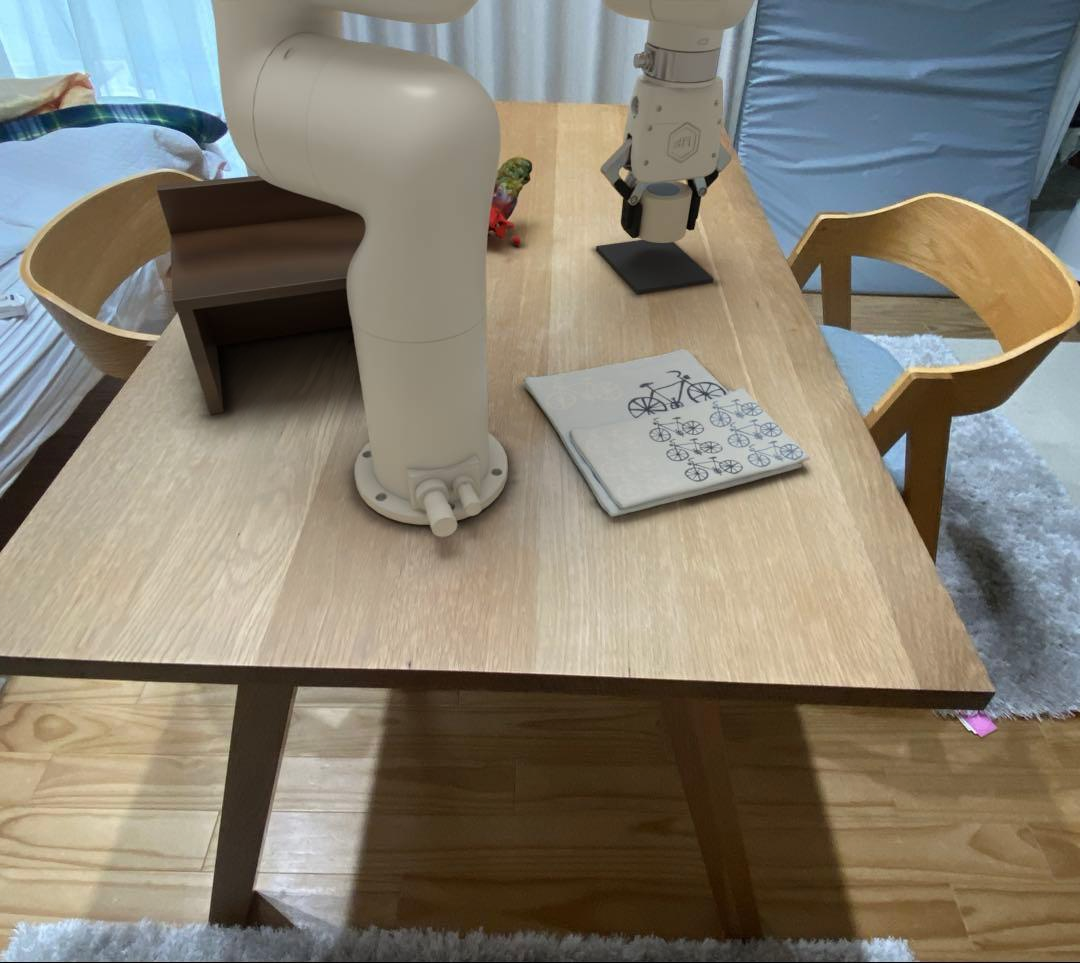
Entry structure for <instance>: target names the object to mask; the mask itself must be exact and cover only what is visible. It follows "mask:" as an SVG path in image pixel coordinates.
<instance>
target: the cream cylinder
mask: <svg viewBox="0 0 1080 963" xmlns="http://www.w3.org/2000/svg"><path fill="white" fill-rule="evenodd" d="M691 197H692V190H691V188H690V187H689V186H688V185H687V184H686V183H684V182H682V181H672V182H663V183H653V184H647V186H646V188H645V190H644V192H643V194H642V196H641V198H640V199H639V203H640V204H641V205H642V216H641V224H640V232H639V236H638V240H645V241H649V242H655V243H670V242H674V243H675V242H678V241H680V240H682V239H683V238H685V236H686V232H687V229H686V227H687V221H688V215H689V209H690V203H691Z"/></svg>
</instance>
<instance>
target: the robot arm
mask: <svg viewBox="0 0 1080 963" xmlns="http://www.w3.org/2000/svg"><path fill="white" fill-rule="evenodd" d="M601 1H602V3H604V4H605V6H606V7H607V8H608V9H609V10H611V11H612V12H613V13H615V14H618V15H620V16H624V17H627V18H632V19H637V20H643V21H648V24H647V25H648V26H647V34H646V42H644V47H643V48H644V49H643V51H642V52H640V53H639V52H638V53H635V54H634V55H633V62H632V63H633V67H634V68H635V69H641V71H642V74H639V75H637V77H636V81H635V84H634V87H633V91H632V93H631V98H630V102H629V106H628V111H627V115H626V119H625V120H626V121H625V126H624V131H623V132H624V133H623V140H622V145H621V146H619V147H618V149H617V150H615V151H614V153H613V154H611V156H609V158H608V159H607V160H606V161H605V162H604V163H603V164H602V165H601V166H600V169H599V171H600V174H602V176H603V177H604V178H605V179H606V180H607V182H609V184H610V185H611V186H612V188H613V189H614V190H615V191H616V192H617V193H618V195H620V197H622V204H621V214H620V225H621V228H622V230H623V231H625V233H626V234H627V235H628V236H629V237H630V238H631V239H637V238H638V236H639V232H640V224H641V216H642V205H641V204H640V203H639V199H640V198H641V196H642V194H643V192H644V190H645V188H646V186H647V184H653V183H663V182H672V181H679V182H681V181H685V184H686V185H688V186H689V187H690V188H691V190H692V197H691V203H690V209H689V215H688V221H687V227H686V230H688V231H695V229H696V224H697V223H696V222H697V220H698V218H699V213H700V207H701V203H702V202H701V201H702V197H704V196H706V194H707V193H708V188H709V187H710V186H711V185H712V184H713V183H714V182H715V181H716V180H717V179H718V178H719V174H720V173H722V172H723V171H724V170H725V168H726V167H727V166H728V165H729V164H730V162H732V156H731V154H730V152H728V151H727V149H726V148H725V146H724V145H722V143H721V140H722V132H723V118H724V117H723V116H724V82H723V78H722V77H720V76H719V75H717V74H718V73H717V72H718V67H719V62H720V55H721V49H722V44H723V36H724V32H725V30H728V29H732V28H734V27H735V26H737V25H739V24H740V23H742V22H743V20H745V18H747V16H748V15H749V13H750V11H751V10H752V8H753V6H754V3H755V1H756V0H601ZM477 3H478V0H212V5H213V17H214V28H215V29H214V30H215V40H216V51H217V62H218V63H217V64H218V76H219V85H220V94H221V102H222V108H223V113H224V118H225V122H226V125H227V130H228V133H229V136H230V138H231V141H232V144H233V146H234V148H235V149H236V151H237V153H238V155H239V157H240V158H241V160H242V162H243V163H244V164H245V165H246V167H248V169H249V170H250V171H251V172H253V173H254V174H255V176H259V177H260V178H262V179H263V180H265V181H267V182H269V183H271V184H273V185H275V186H278V187H280V188H283V189H285V190H288V191H292V192H294V193H298V194H301V195H304V196H308V197H311V198H314V199H318V200H321V201H325V202H328V203H331V204H335V205H338V206H340V207H342V208H345V209H348V210H351V211H353V212H356V213H358V214H360V215H361V216H362V217H363V219H364V221H365V225H366V230H365V234H364V238H363V240H362V242H361V244H360V245H359V247H358V249H357V250H356V252H355V254H354V255H353V258H352V260H351V262H350V265H349V268H348V273H347V299H348V305H349V312H350V317H351V321H352V325H351V327H352V334H353V339H354V347H355V353H356V354H355V355H356V359H357V360H356V361H357V365H358V366H357V367H358V374H359V381H360V386H361V388H360V389H361V393H362V400H363V407H364V414H365V421H366V427H367V434H368V440H369V441H368V442H367V443H366V444H365V445H363V447H362V448H361V449H360V451H359V453H358V455H357V457H356V460H355V464H354V480H355V485H356V489H357V491H358V493H359V496H360V498H361V499H362V500H363V501H364V502H365V503H366V504H367V506H368V507H370V509H373V511H375V512H376V513H378V514H380V515H382V516H384V517H386V518H388V519H390V520H394V521H397V522H400V523H405V524H412V525H422V526H423V525H425V526H427V525H429V526H430V529H431V532H432V534H434V536H436V537H439V538H444V537H449V536H451V535H453V534H454V533H455V532H456V530H458V525H459V524H458V521H460V520H465V519H466V518H469V517H474V516H477V515H479V514H480V513H481V512H482V511H483V510H484V509H486V508H487V507H489V506H490V505H491V504H492V503H493V502H494V501H495V500H496V499H497V498H498V497H499V495H501V493H502V492H503V490H504V488H505V485H506V483H507V480H508V471H509V465H508V464H509V463H508V457H507V454H506V450H505V448H504V447H503V445H502V443H501V442H500V441H499V440H498V438H496V437H495V436H494V435H493V434H492V433H491V432H489V378H488V377H489V376H488V375H489V374H488V371H489V370H488V321H487V320H488V319H487V318H488V316H487V312H488V311H487V310H488V309H487V308H488V306H487V254H488V253H487V252H488V238H487V236H488V226H489V217H490V211H491V204H492V198H493V192H494V187H495V182H496V176H497V171H498V170H499V164H500V155H501V146H502V145H501V144H502V131H501V130H502V129H501V123H500V122H501V121H500V117H499V114H498V110H497V108H496V106H495V102H494V101H493V98H492V97H491V95H490V94H489V92H488V91H487V90H486V88H485V87H484V85H482V84H481V82H480V81H478V79H477V78H475V77H474V76H473V75H472V74H471V73H469V72H468V71H466V70H465V69H463V68H461V67H460V66H458V65H456V64H454V63H451V62H449V61H447V60H445V59H443V58H441V57H437V56H433V55H430V54H427V53H422V52H418V51H413V50H408V49H403V48H398V47H393V46H387V45H382V44H379V43H378V44H377V43H372V42H366V41H356V40H353V39H346V38H342V36H343V34H342V30H343V13H348V14H354V15H360V16H364V17H365V16H366V17H371V18H377V19H381V20H388V21H393V22H401V23H408V24H409V23H410V24H417V25H440V24H441V25H442V24H447V23H451V22H454V21H456V20H458V19H460V18H462V17H464V16H466V15H468V14H469V12H470V11H471V10H472V9H473V8H474V6H475V5H476V4H477ZM622 168H623V169H624V170H626V171H628V172H627V174H626V176H625V178H624V179H623V178H622V176H621V175H620V170H621V169H622ZM638 239H639V238H638Z"/></svg>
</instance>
